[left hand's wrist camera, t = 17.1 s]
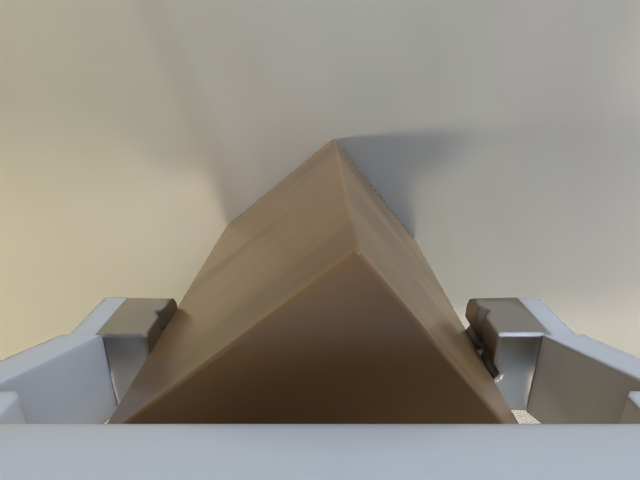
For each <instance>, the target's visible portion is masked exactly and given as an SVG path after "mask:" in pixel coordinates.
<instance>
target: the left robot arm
mask: <svg viewBox="0 0 640 480" xmlns="http://www.w3.org/2000/svg"><path fill="white" fill-rule="evenodd" d="M176 310H177V303H176V302H175V300H174V299H171V298H129V297H119V298H104V299H103V300H102V301H101V302H100V303H99V304H98V305H97V306H96V308H95V309H94V310H93V311H92V312H91V313H90V314H89V315H88V316H87V317H86V318H85V319H84V320H83V321H82V322H81V323H80V324H79V325H78V326H77V327H76V328H75V329H74V330H73V331H72V332H71V333H70V334H69V335H60V336H58V337H56V338H53V339H51V340H49V341H46V342H44V343H41V344H39V345H37V346H34V347H32V348H30V349H27V350H25V351H23V352H20V353H18V354H16V355H13V356H11V357H9V358H6V359H4V360H2V361H0V480H640V359H639V358H637V357H634V356H632V355H630V354H627V353H625V352H623V351H620V350H618V349H615V348H613V347H611V346H608V345H606V344H604V343H601V342H599V341H597V340H594V339H592V338H589V337H587V336H585V335H576V334H575V333H574V332H573V331H572V330H571V329H570V328H569V327H568V326H567V325H566V324H565V323H564V322H563V321H562V320H561V319H560V318H559V317H558V316H557V315H556V314H555V313H554V312H553V311H552V310H551V309H550V308H549V307H548V306H547V305H546V304H545V303H544V302H543V301H542V300H541V299H539V298H536V297H528V298H479V299H470V300H469V302H468V305H467V309H466V315H465V316H466V318H467V320H468V321H469V323H470V326H469V327H468V328H467V329H466V332H467V333H468V335H469V337H470V339H471V340H472V342H473V344H474V346H475V347H476V349H477V351H478V353H479V355H480V356H481V358H482V360H483V362H484V363H485V365H486V367H487V369H488V371H489V372H490V374H491V376H492V378H493V379H494V381H495V383H496V385H497V386H498V388H499V390H500V392H501V394H502V395H503V397H504V399H505V401H506V402H507V404H508V406H509V408H510V409H511V410H527V412H528V413H529V414H530V415H532V416H533V417H534V418H535V419H537V420H538V421H539V422H540V423H542V424H103V423H104V422H106V421H107V420H108V419H110V418H111V417H112V415H113V413H114V412H115V410H116V408H117V407H118V405H119V404H120V402H121V400H122V399H123V397H124V395H125V394H126V392H127V390H128V389H129V387H130V385H131V384H132V382H133V380H134V379H135V377H136V375H137V374H138V372H139V371H140V369H141V367H142V366H143V364H144V362H145V361H146V359H147V357H148V356H149V354H150V353H151V351H152V350H153V348H154V346H155V345H156V343H157V341H158V340H159V338H160V336H161V334H162V333H163V331H164V329H165V328H166V326H167V324H168V323H169V322H170V320H171V318H172V317H173V315H174V313H175V312H176Z"/></svg>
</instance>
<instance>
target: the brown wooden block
mask: <svg viewBox="0 0 640 480" xmlns="http://www.w3.org/2000/svg"><path fill="white" fill-rule="evenodd" d="M107 424H518V422H517V420H516V418H515V417H514V415H513V413H512V411H511V409H510V408H509V406H508V404H507V402H506V401H505V399H504V397H503V395H502V394H501V392H500V390H499V388H498V386H497V385H496V383H495V381H494V379H493V378H492V376H491V374H490V372H489V371H488V369H487V367H486V365H485V363H484V362H483V360H482V358H481V356H480V355H479V353H478V351H477V349H476V347H475V346H474V344H473V342H472V340H471V339H470V337H469V335H468V333H467V332H466V330H465V328H464V326H463V324H462V323H461V321H460V319H459V317H458V316H457V314H456V312H455V310H454V308H453V307H452V305H451V303H450V301H449V300H448V298H447V296H446V294H445V293H444V291H443V289H442V287H441V285H440V284H439V282H438V280H437V278H436V277H435V275H434V273H433V271H432V270H431V268H430V266H429V264H428V262H427V261H426V259H425V257H424V255H423V254H422V252H421V250H420V248H419V246H418V245H417V243H416V241H415V240H414V239H413V237H412V236H411V235H410V233H409V232H408V231H407V230H406V228H405V227H404V226H403V225H402V223H401V222H400V221H399V220H398V218H397V217H396V216H395V214H394V213H393V212H392V211H391V209H390V208H389V207H388V206H387V204H386V203H385V202H384V201H383V199H382V198H381V197H380V195H379V194H378V193H377V192H376V190H375V189H374V188H373V187H372V185H371V184H370V183H369V182H368V180H367V179H366V178H365V176H364V175H363V174H362V173H361V171H360V170H359V169H358V168H357V166H356V165H355V164H354V163H353V161H352V160H351V159H350V157H349V156H348V155H347V154H346V152H345V151H344V150H343V149H342V147H341V146H340V145H339V144H338V142H337V141H336V140H335V139H333V140H332V141H331V142H329V143H328V144H327V145H326V146H324V147H323V148H322V149H321V150H320V151H318V152H317V153H316V154H315V155H313V156H312V157H311V158H310V159H309V160H307V161H306V162H305V163H304V164H303V165H301V166H300V167H299V168H298V169H296V170H295V171H294V172H293V173H292V174H290V175H289V176H288V177H287V178H285V179H284V180H283V181H282V182H281V183H279V184H278V185H277V186H276V187H274V188H273V189H272V190H271V191H270V192H268V193H267V194H266V195H265V196H264V197H262V198H261V199H260V200H259V201H257V202H256V203H255V204H254V205H253V206H251V207H250V208H249V209H248V210H246V211H245V212H244V213H243V214H242V215H240V216H239V217H238V218H237V219H235V220H234V221H233V222H232V223H231V224H229V225H228V226H227V227H226V229H225V230H224V232H223V233H222V235H221V237H220V238H219V240H218V242H217V243H216V245H215V247H214V248H213V250H212V252H211V253H210V255H209V257H208V258H207V260H206V262H205V263H204V265H203V267H202V268H201V270H200V271H199V273H198V275H197V276H196V278H195V280H194V281H193V283H192V285H191V286H190V288H189V290H188V291H187V293H186V295H185V296H184V298H183V300H182V301H181V303H180V304H179V306H178V308H177V310H176V312H175V313H174V315H173V317H172V318H171V320H170V322H169V323H168V324H167V326H166V328H165V329H164V331H163V333H162V334H161V336H160V338H159V340H158V341H157V343H156V345H155V346H154V348H153V350H152V351H151V353H150V354H149V356H148V357H147V359H146V361H145V362H144V364H143V366H142V367H141V369H140V371H139V372H138V374H137V375H136V377H135V379H134V380H133V382H132V384H131V385H130V387H129V389H128V390H127V392H126V394H125V395H124V397H123V399H122V400H121V402H120V404H119V405H118V407H117V408H116V410H115V412H114V413H113V415H112V417H111V418H110V420H109V422H108V423H107Z"/></svg>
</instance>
